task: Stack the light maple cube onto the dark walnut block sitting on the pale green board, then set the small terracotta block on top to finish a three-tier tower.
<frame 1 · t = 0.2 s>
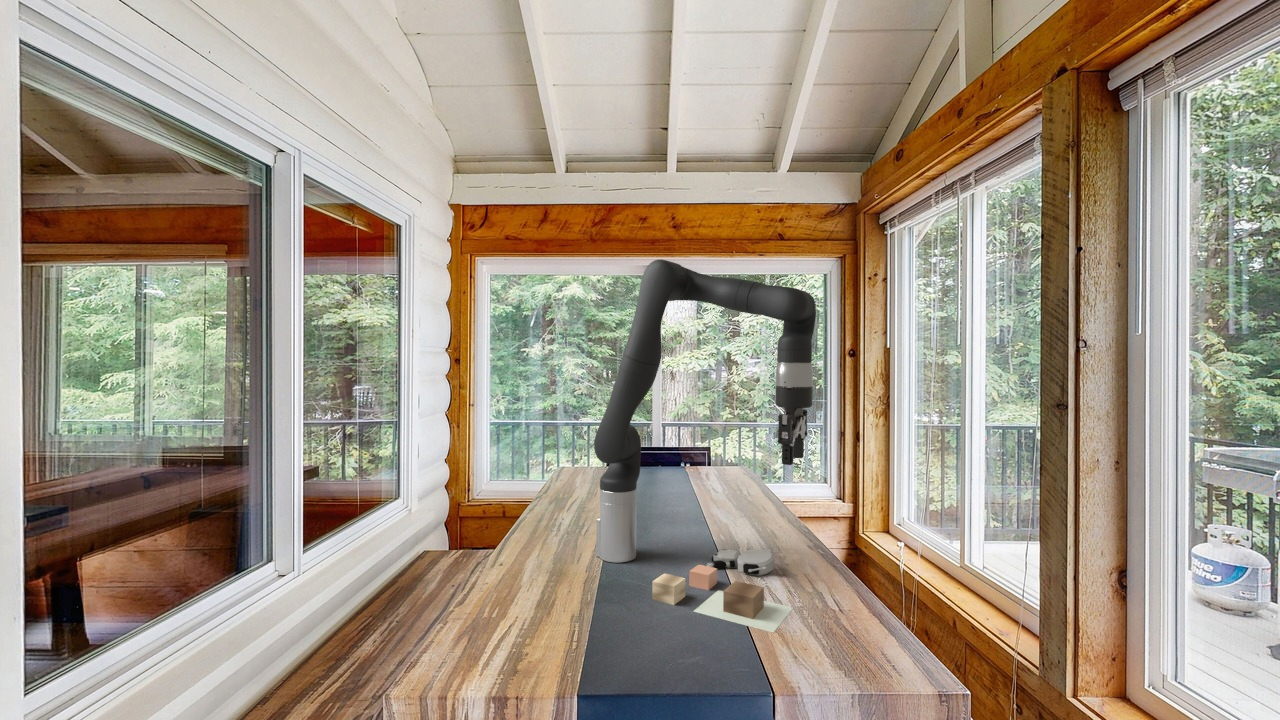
hand: (792, 461, 122), 29 cm above the table, tool pointing down, fingers open, 8 cm apart
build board: (743, 615, 113), on the table
maple block: (668, 604, 118), on the table
robot toy: (742, 572, 136), on the table
walnut block: (743, 609, 113), point 1 cm above the table, touching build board
terracotta block: (703, 590, 125), on the table
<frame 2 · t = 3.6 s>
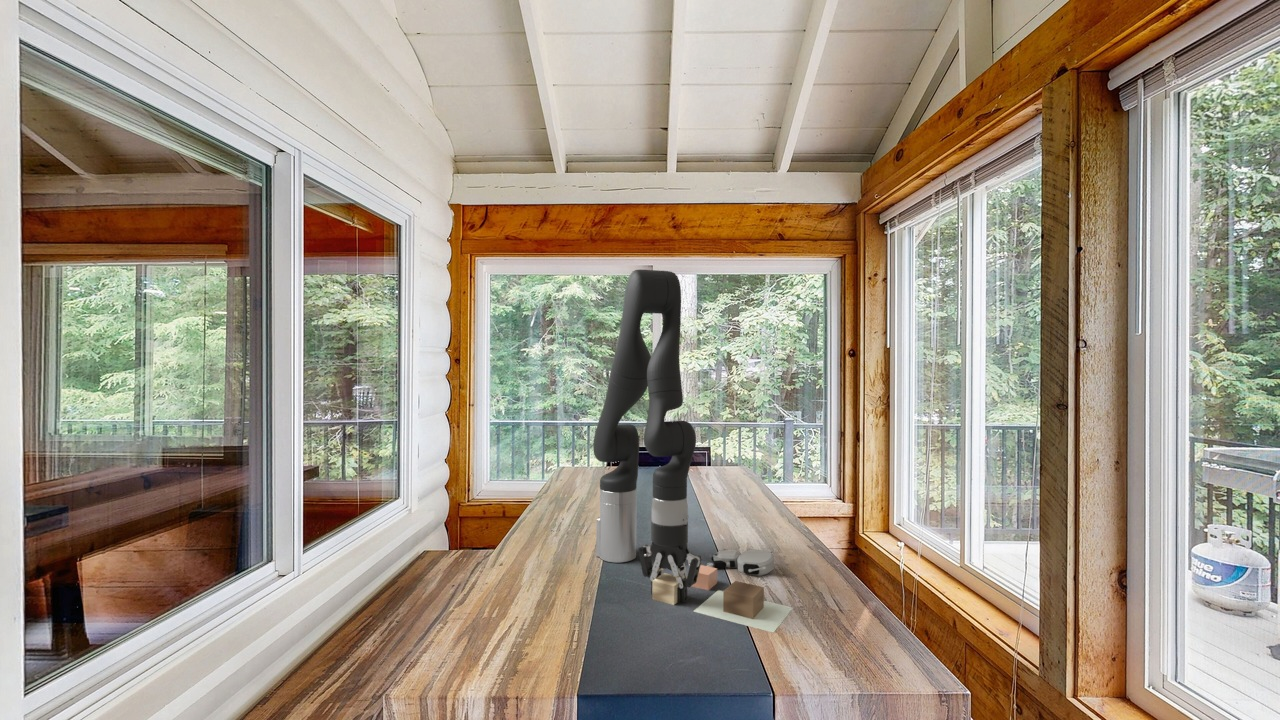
hand: (669, 601, 118), 0 cm above the table, tool pointing down, fingers closed on maple block, 5 cm apart
maple block: (668, 603, 118), on the table, touching gripper
everything else where it was.
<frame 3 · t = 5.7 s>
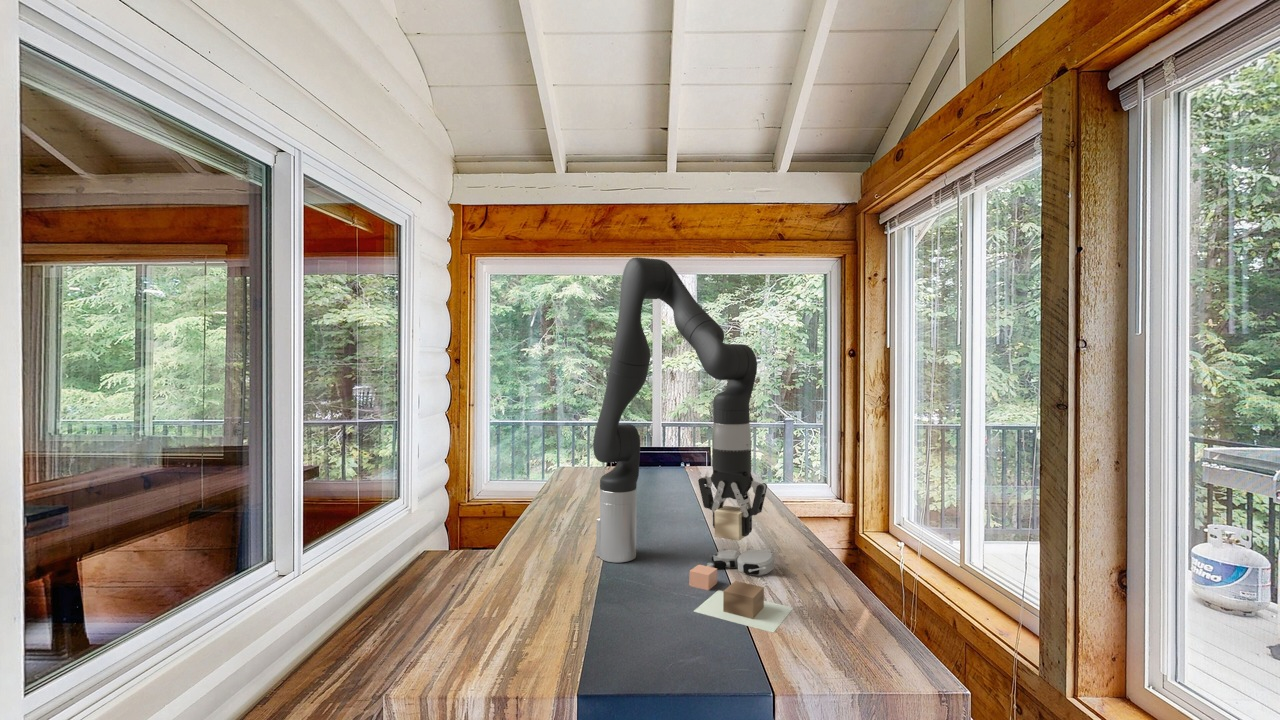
hand: (732, 532, 113), 16 cm above the table, tool pointing down, fingers closed on maple block, 5 cm apart
maple block: (731, 535, 113), point 16 cm above the table, touching gripper
everything else where it was.
when the fingers open (7 cm above the table, at t = 8.0 s): maple block drops 1 cm, resting on walnut block.
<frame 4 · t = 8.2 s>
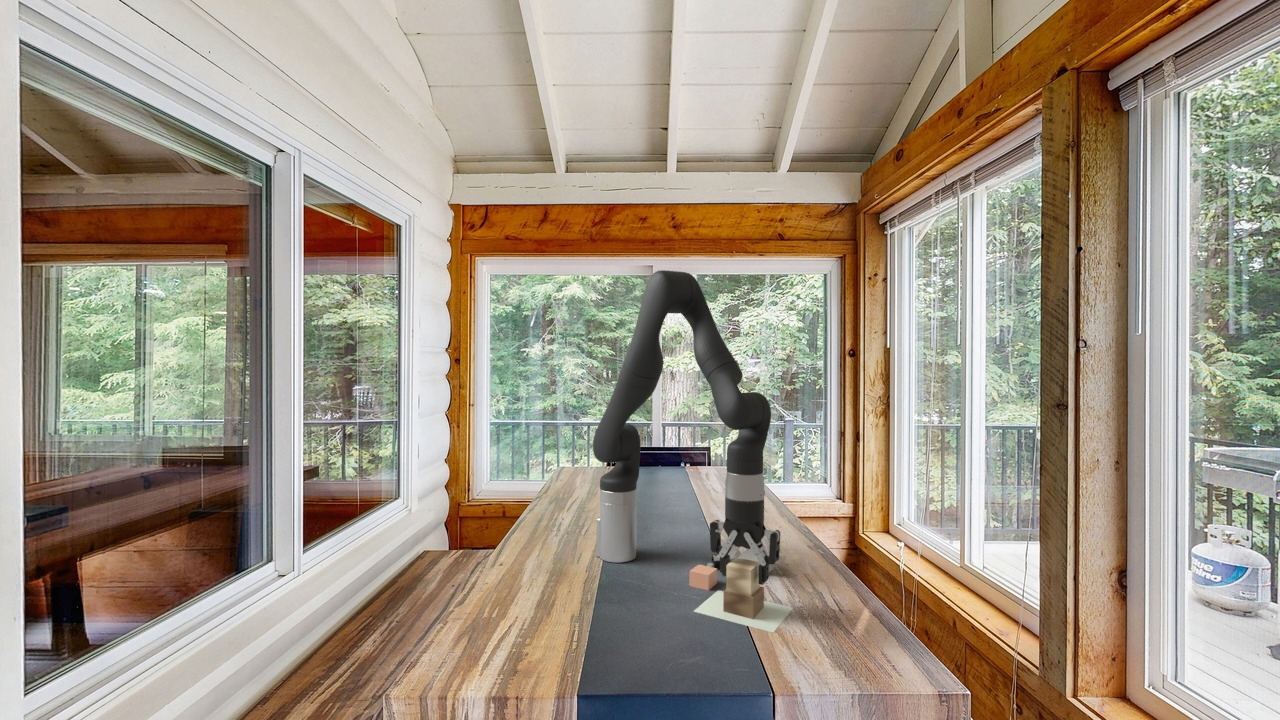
hand: (743, 578, 113), 7 cm above the table, tool pointing down, fingers open, 7 cm apart
maple block: (743, 589, 113), point 5 cm above the table, touching walnut block
walnut block: (743, 609, 113), point 1 cm above the table, touching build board, maple block
everything else where it was.
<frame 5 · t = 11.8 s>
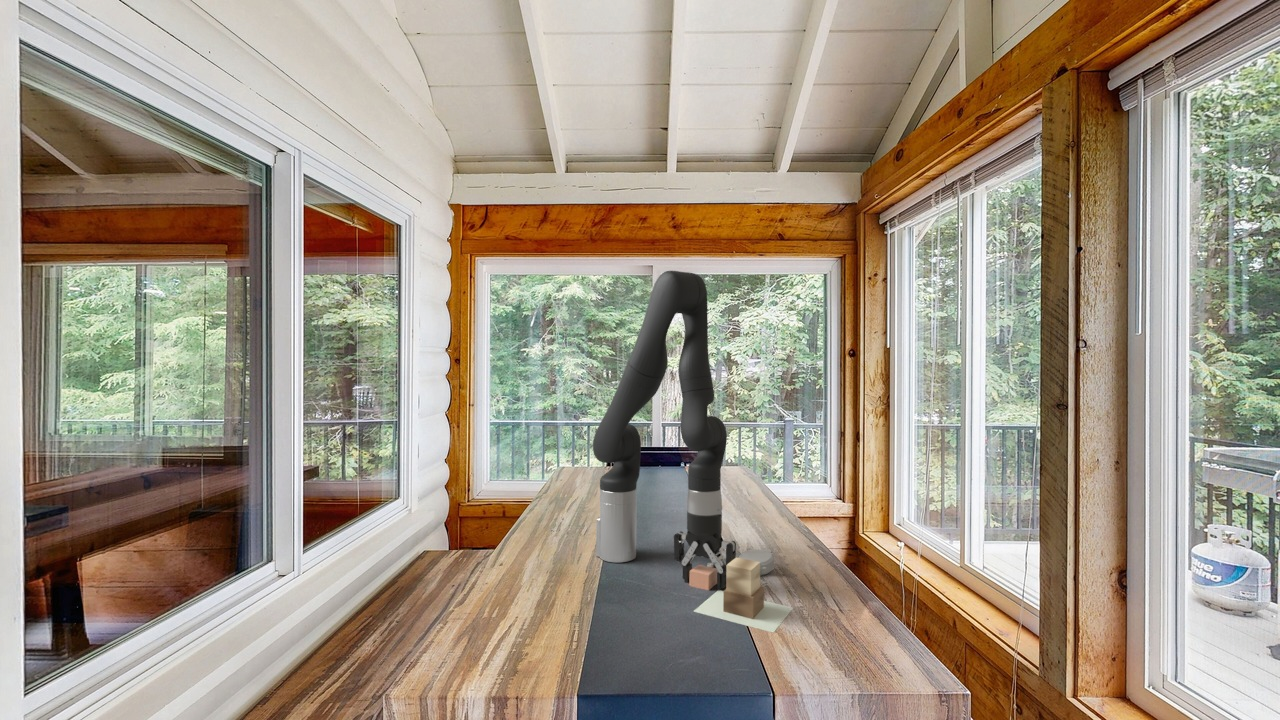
hand: (704, 585, 125), 1 cm above the table, tool pointing down, fingers open, 7 cm apart
nothing on the table moved.
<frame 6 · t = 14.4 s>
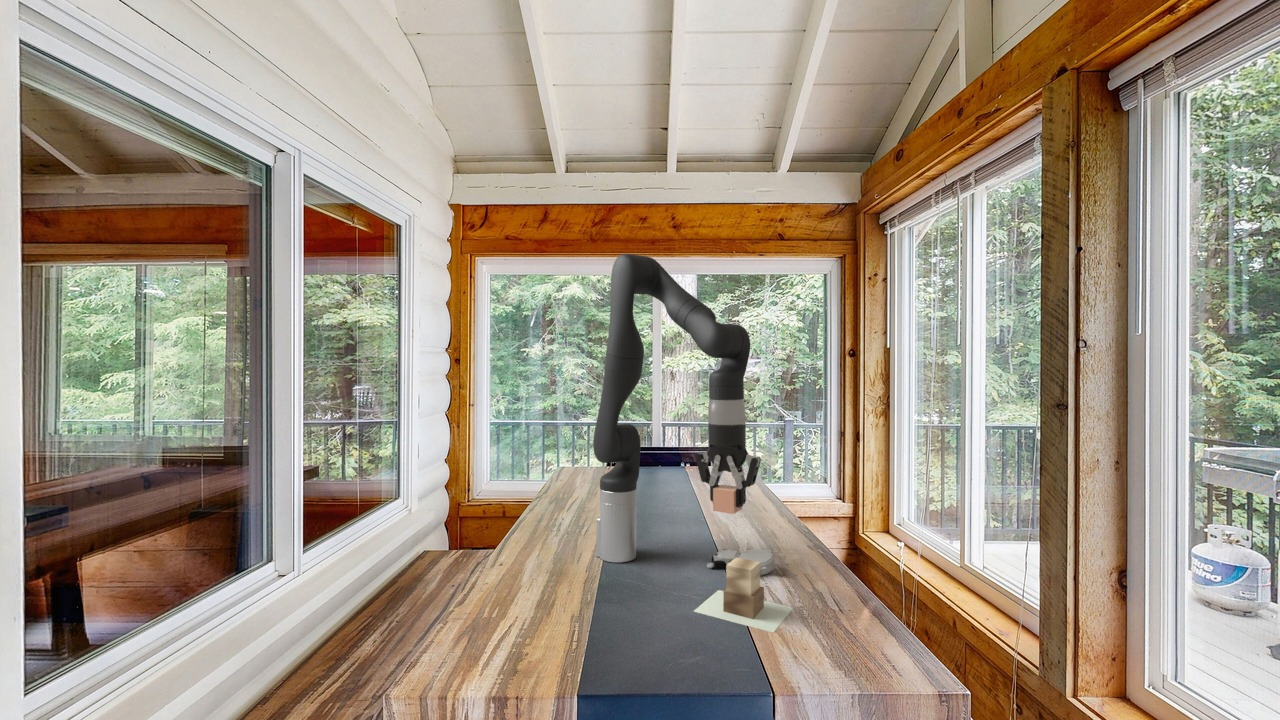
hand: (728, 504, 118), 20 cm above the table, tool pointing down, fingers closed on terracotta block, 4 cm apart
terracotta block: (727, 509, 118), point 19 cm above the table, touching gripper
everything else where it was.
when the fingers open (12 cm above the table, at t = 16.5 s): terracotta block stays where it is, resting on maple block.
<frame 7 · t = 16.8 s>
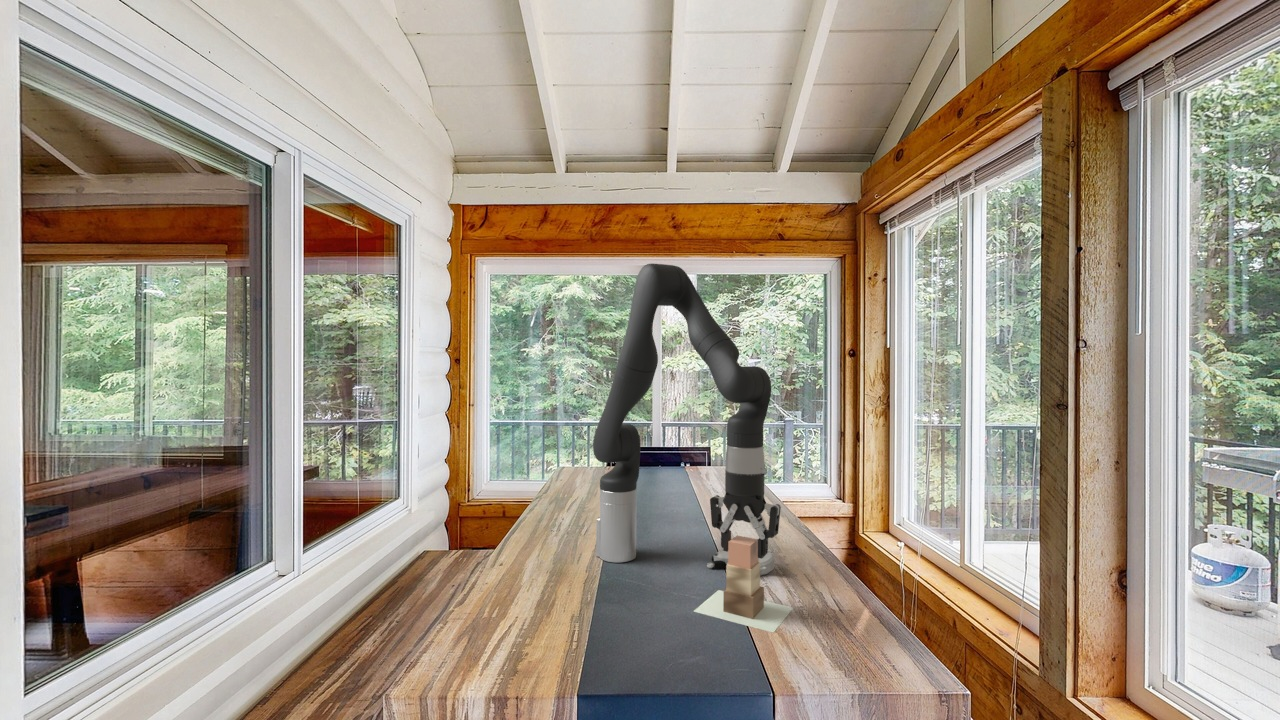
hand: (744, 553, 113), 12 cm above the table, tool pointing down, fingers open, 6 cm apart
maple block: (743, 589, 113), point 5 cm above the table, touching terracotta block, walnut block
terracotta block: (743, 563, 113), point 10 cm above the table, touching maple block
everything else where it was.
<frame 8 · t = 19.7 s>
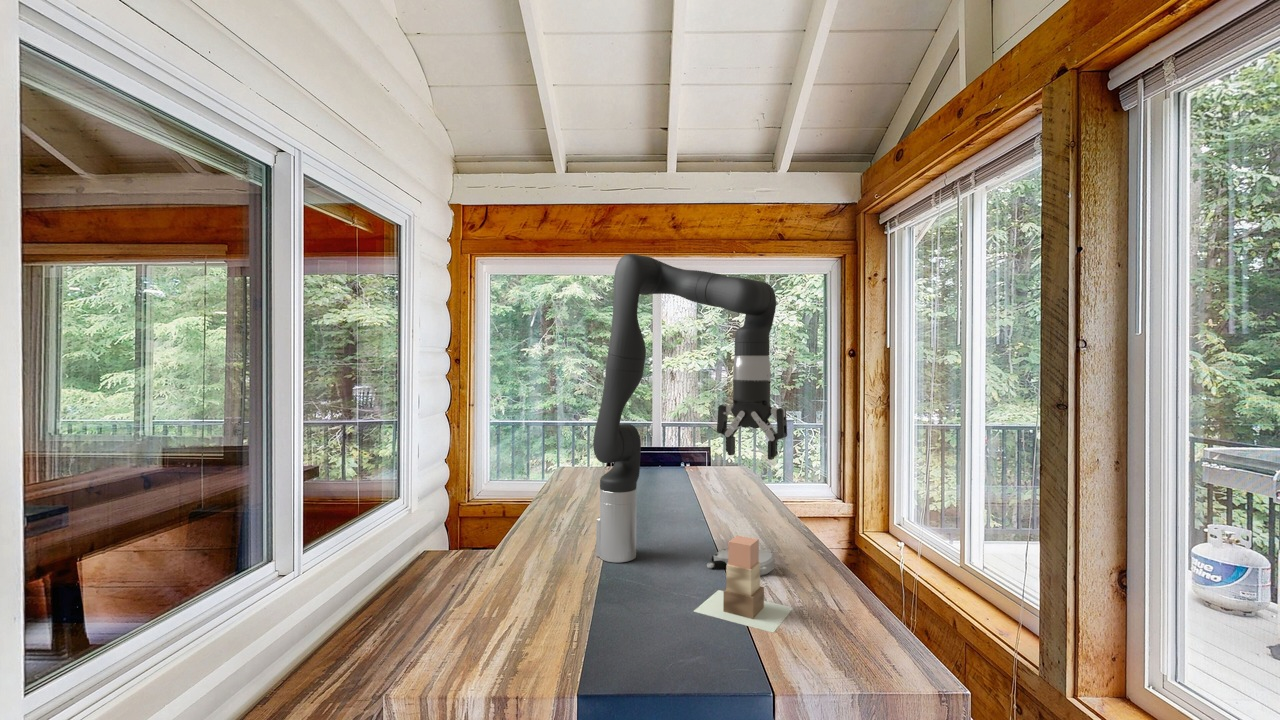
hand: (751, 456, 118), 30 cm above the table, tool pointing down, fingers open, 8 cm apart
nothing on the table moved.
at the end: maple block 0.1 cm off-centre on the walnut block, point 4.0 cm above the walnut block's base; terracotta block 0.1 cm off-centre on the maple block, point 5.0 cm above the maple block's base; terracotta block point 10.2 cm above the table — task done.
